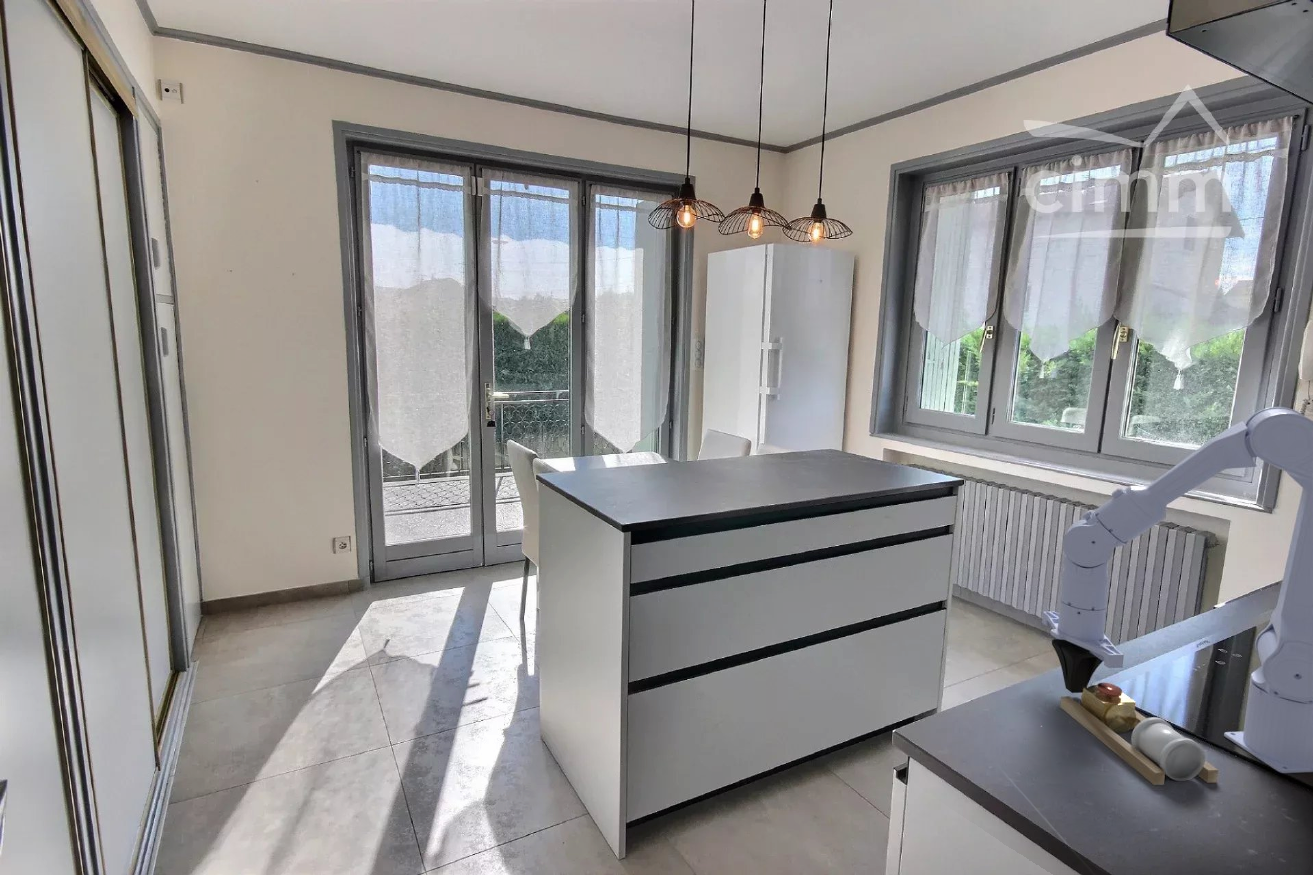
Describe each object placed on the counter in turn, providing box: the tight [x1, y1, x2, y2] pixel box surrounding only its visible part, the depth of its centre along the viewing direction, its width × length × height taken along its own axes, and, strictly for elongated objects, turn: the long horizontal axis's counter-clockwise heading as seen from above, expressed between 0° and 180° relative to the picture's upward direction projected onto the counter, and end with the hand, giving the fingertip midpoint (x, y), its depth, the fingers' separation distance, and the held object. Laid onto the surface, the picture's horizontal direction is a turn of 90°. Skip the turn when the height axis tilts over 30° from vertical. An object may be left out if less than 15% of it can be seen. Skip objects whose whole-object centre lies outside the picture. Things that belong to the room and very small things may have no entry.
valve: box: [1080, 682, 1136, 734], centre depth 91 cm, size 5×4×5 cm
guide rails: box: [1059, 695, 1219, 786], centre depth 87 cm, size 8×17×2 cm, turn 3°
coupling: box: [1130, 716, 1206, 782], centre depth 81 cm, size 5×5×5 cm
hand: (1075, 690), depth 98 cm, fingers closed
